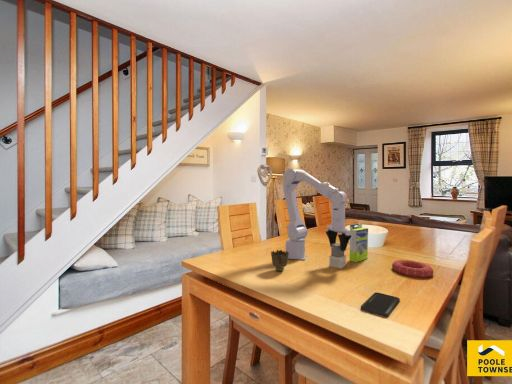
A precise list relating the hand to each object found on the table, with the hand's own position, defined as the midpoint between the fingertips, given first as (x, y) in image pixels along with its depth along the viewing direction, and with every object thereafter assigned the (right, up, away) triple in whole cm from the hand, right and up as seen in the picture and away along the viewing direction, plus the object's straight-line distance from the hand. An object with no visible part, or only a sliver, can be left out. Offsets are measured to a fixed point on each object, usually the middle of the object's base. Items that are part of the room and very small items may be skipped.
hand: (337, 248), depth 125 cm
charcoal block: (0, -3, 0) cm, 3 cm away
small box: (0, -8, 0) cm, 8 cm away
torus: (+29, -9, -7) cm, 31 cm away
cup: (-27, -8, -6) cm, 28 cm away
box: (+13, -8, +10) cm, 18 cm away
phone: (+2, -10, -38) cm, 40 cm away
